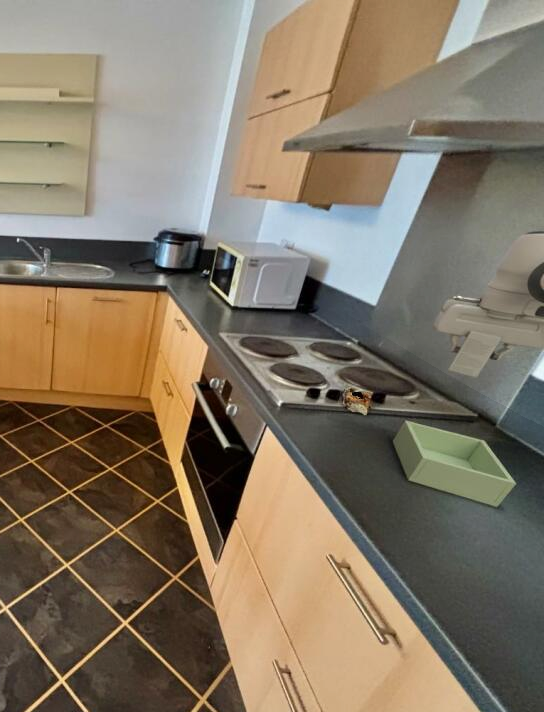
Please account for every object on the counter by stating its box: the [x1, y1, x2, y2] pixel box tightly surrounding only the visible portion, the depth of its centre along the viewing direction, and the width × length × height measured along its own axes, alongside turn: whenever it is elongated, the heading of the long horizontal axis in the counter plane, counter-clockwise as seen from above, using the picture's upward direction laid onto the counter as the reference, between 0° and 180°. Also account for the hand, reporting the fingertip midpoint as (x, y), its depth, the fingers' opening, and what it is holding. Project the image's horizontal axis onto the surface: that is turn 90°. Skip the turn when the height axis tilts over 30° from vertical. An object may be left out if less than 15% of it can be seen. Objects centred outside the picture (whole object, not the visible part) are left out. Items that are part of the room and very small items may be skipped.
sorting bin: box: [392, 420, 517, 508], centre depth 85 cm, size 14×16×6 cm
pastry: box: [339, 385, 373, 416], centre depth 109 cm, size 7×12×4 cm, turn 154°
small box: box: [447, 331, 501, 379], centre depth 103 cm, size 8×6×10 cm
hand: (472, 355), depth 104 cm, fingers closed on small box, 6 cm apart
